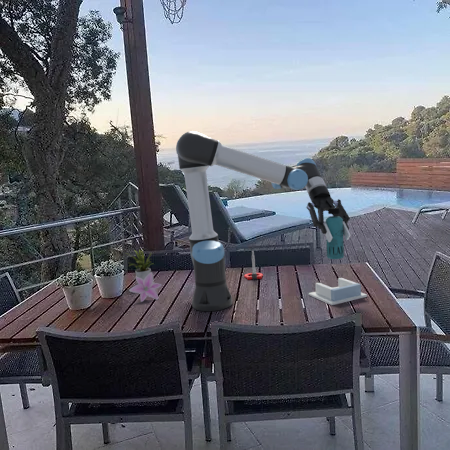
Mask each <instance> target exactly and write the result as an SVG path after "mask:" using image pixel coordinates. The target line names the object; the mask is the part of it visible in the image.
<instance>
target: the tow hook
mask: <svg viewBox="0 0 450 450" xmlns="http://www.w3.org/2000/svg"><path fill="white" fill-rule="evenodd" d="M251 264H252V268H251V272H250V273H246V274H244V278H245V279H246V280H247V281H250V280H253V279H254V280H261V279H263V276H264V274H263V273H261V272H257V270H256V269H257V268H256V259H255V252H254V250H251ZM249 275H250V276H249Z"/></svg>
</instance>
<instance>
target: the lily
mask: <svg viewBox="0 0 450 450" xmlns="http://www.w3.org/2000/svg"><path fill="white" fill-rule="evenodd" d="M135 281H136V282H137V284H136V285H134V286H133V287H130V289H129V290H128V291H129V292H131V293H135V294H139V296H140V298H139V299H140V303H144V301H145V300H146V299H147V297H149V298H150V299H151V298H152V299H154V300H157V301H158V300H159V295H158V291H157V289H159V288H160V287H161V286H162V284H161V283H158V282H154V274H153V271H151V272H150V273H149V274H148V275H147V276H146V277H145V279H144V280H143V279H142V278H139V277H137V276H135Z"/></svg>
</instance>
